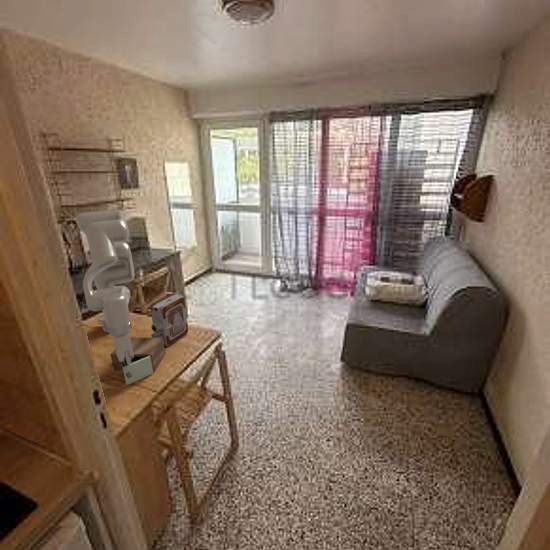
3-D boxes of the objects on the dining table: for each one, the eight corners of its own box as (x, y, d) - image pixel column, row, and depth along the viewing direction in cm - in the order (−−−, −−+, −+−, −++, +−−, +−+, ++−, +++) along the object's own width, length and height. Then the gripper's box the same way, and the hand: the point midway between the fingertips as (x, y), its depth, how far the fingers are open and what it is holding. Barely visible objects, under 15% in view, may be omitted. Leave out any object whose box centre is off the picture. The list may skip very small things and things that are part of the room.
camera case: (114, 371, 127) (110, 354, 125) (128, 353, 139) (124, 337, 136) (154, 371, 127) (151, 354, 124) (165, 354, 138) (162, 337, 135)
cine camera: (144, 349, 142) (136, 307, 135) (176, 329, 158) (171, 291, 151) (159, 355, 138) (152, 312, 131) (191, 333, 154) (186, 294, 147)
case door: (128, 386, 119) (124, 369, 116) (126, 384, 120) (122, 367, 117) (154, 374, 125) (151, 357, 122) (152, 372, 126) (149, 355, 124)
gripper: (105, 322, 120) (114, 364, 126) (112, 340, 108) (122, 385, 115) (127, 316, 124) (135, 358, 130) (136, 333, 112) (144, 377, 118)
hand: (129, 370), depth 122 cm, fingers closed
